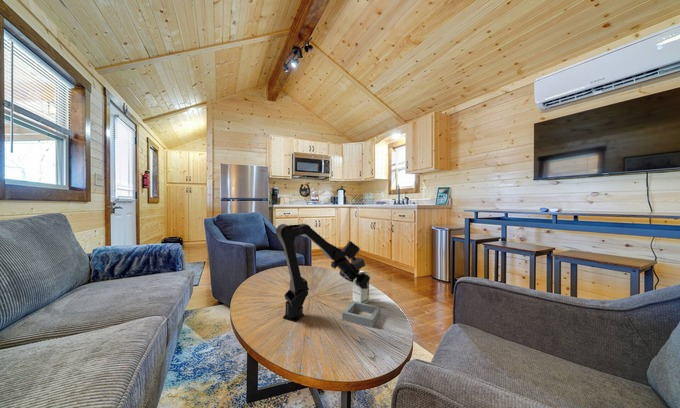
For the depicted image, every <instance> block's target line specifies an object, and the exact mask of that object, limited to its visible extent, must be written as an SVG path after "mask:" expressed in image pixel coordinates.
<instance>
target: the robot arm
mask: <svg viewBox="0 0 680 408" xmlns="http://www.w3.org/2000/svg"><path fill="white" fill-rule="evenodd" d="M275 233H276V236H277V239H278V241H279V242H280V244H281V245H282V248H283V252H284V256H285V261H286V265H287V270H288V273H289V278H290V280H289V289H288V290H287V291H286V292H285V294H284V299H285V311H284V312H285V313H284V315H283V317H282V318H283V319H286V320H289V321H291V322H297V321H299V320H300V319H301V318H302V317H303V316H304V314H305V313H304V306H303V305H304V303H305V300H306V298H307V297H308V295H309V291H310V288H309V286H308V284H309V283H308V280H306V279H305V278H304V277H303V276H302V274H301V270H300V265H299V262H298V258H297V252H296V249H295V243H296V237H300V236H303V235H304V236H305V237H306V238H308V239H309V240H310V241H311V242H312V243H314V244H315V245H316V246H317V247H318V248H320V250H321V251H322V254H323V255H325V257H326V258H328V259H330V260H332V261H331V263H330V267H331V268H332V269H336V268H338V270H340V271H339V276H340V277H342V278H343V279H344V280H347V282H348V281H349V282H351V283H353V280H355V278H356V279H357V280H356V283H355V284H356V285H357V286H358V287H360V288H364V289H367V288H368V286H367V282H368V281H369V282H370V280H371V277H370V275H369V276H368V275H367V274H365V273H361V275H360V274H358V273H359V272H360V271H361V269H362V268H363V267H365V266H366V262H365V260H364V258H361V257H356V256H357V254H358V253H359V252H360V250H361V248H360V247H359V246H357V245H356V244H355V243H354V242H352V240H351V241H350V240H348V242H347V243H346V245H345V246H344V247H343V248H340V247H337V246H335V245H333V244H332V243H330V242H328V241H327V240H326V239H325V238H324V237H323V236H321V235H320V234H319V233H317V232H316V230H315V229H313V228H312V227H311V226H310V225H309V224H307V223H301V224H289V225H288V224H285V223H282V224H279V225H278V226H277V228H275Z"/></svg>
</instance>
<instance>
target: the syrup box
mask: <svg viewBox="0 0 680 408" xmlns="http://www.w3.org/2000/svg"><path fill="white" fill-rule="evenodd" d="M361 273H365V274H367V275H368V276H369V277H370V273H369V272H367V271H364V270H360V272H359V273H358V274H360V275H361ZM356 280H357V279H356V278H355V280H353V282H352V302H353V301H355V302H360V303H364V304H368V303H369V299H370V296H369V295H370V280H369V281H368V282H367V286H368V288H367V289H364V288H360V287H358V286H357V285H356V284H355V283H356Z"/></svg>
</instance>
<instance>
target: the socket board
mask: <svg viewBox="0 0 680 408" xmlns="http://www.w3.org/2000/svg"><path fill="white" fill-rule="evenodd" d="M381 309H382V307H381V306H376V305H373V304H368V303H360V302H355V301H353V300H352V302H351V303H350V304H349V305H348V306H347V307H346V308H345V309H344V310H343V312H342V313H341V314H342V315H341V316H342V317H341V320H342V321H345V320H346V321H345V322H349V323H354V324H356V323H357V325H360V324H361V326H364V327H369V328H374V326H375V324H376V323H377V320H378V319H379V317H380V315H381V312H382V311H381ZM354 311H361V312H365V313H369V314H371V316H369V317H368V316H365V315H362V314H361V315H360V314H357V313H353V312H354Z"/></svg>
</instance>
